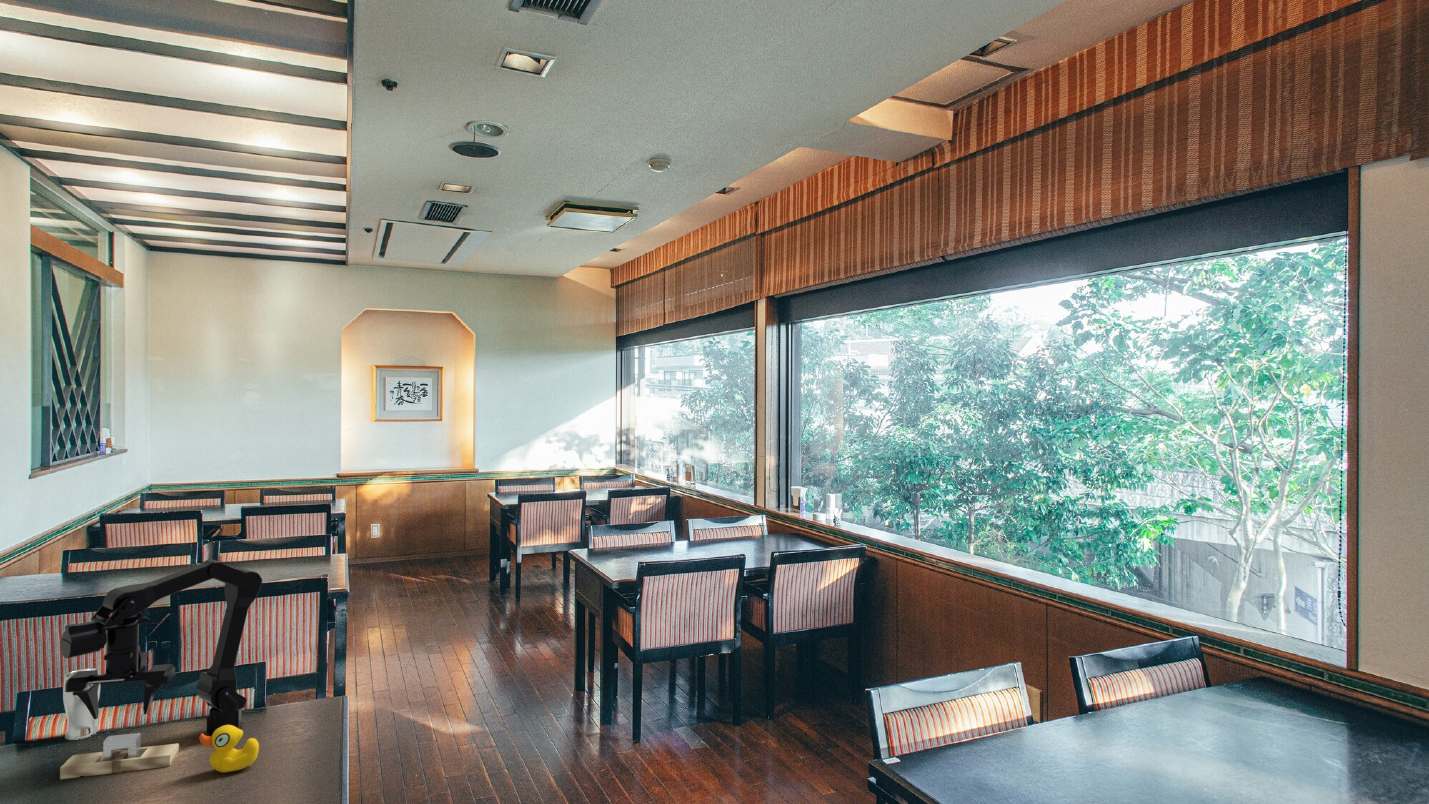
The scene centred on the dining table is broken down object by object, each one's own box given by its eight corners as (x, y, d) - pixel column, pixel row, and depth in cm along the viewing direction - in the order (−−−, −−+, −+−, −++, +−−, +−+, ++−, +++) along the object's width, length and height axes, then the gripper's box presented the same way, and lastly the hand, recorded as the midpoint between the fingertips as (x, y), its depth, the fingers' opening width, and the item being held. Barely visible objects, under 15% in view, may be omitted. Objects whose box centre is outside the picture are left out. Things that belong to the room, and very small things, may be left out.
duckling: (195, 780, 166) (196, 734, 166) (202, 769, 171) (202, 724, 171) (256, 772, 170) (256, 727, 170) (260, 761, 175) (261, 717, 175)
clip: (140, 761, 174) (140, 732, 174) (135, 767, 171) (136, 738, 171) (108, 765, 172) (108, 736, 172) (103, 771, 169) (103, 741, 169)
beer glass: (107, 729, 189) (108, 668, 189) (81, 742, 183) (82, 679, 182) (81, 727, 190) (82, 667, 190) (54, 740, 183) (55, 677, 183)
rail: (178, 754, 178) (178, 743, 178) (170, 766, 172) (170, 755, 172) (72, 766, 171) (72, 755, 171) (60, 779, 165) (60, 767, 165)
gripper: (183, 631, 182) (182, 698, 182) (87, 638, 176) (86, 706, 176) (167, 646, 171) (166, 716, 171) (64, 654, 165) (63, 727, 165)
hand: (121, 716), depth 171 cm, fingers open, 9 cm apart
